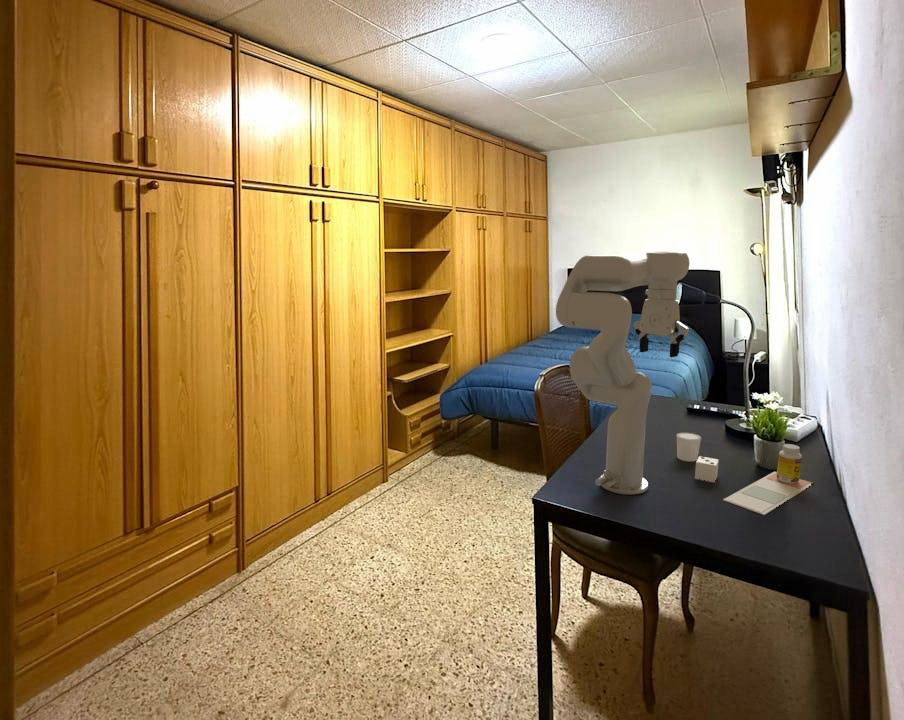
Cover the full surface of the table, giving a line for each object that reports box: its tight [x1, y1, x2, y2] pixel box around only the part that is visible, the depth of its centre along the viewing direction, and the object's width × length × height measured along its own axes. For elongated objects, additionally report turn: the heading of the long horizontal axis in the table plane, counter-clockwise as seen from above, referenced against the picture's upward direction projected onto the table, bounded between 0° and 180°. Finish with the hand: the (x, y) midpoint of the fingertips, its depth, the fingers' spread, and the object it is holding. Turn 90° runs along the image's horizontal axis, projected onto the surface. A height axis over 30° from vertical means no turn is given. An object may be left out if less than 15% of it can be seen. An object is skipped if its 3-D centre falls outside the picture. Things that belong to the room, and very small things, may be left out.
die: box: [694, 455, 720, 484], centre depth 152 cm, size 5×5×5 cm
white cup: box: [676, 432, 702, 462], centre depth 165 cm, size 7×7×7 cm
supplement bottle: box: [776, 443, 803, 484], centre depth 147 cm, size 5×5×10 cm
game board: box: [722, 471, 812, 516], centre depth 142 cm, size 28×10×1 cm, turn 126°
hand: (658, 354), depth 159 cm, fingers open, 9 cm apart
